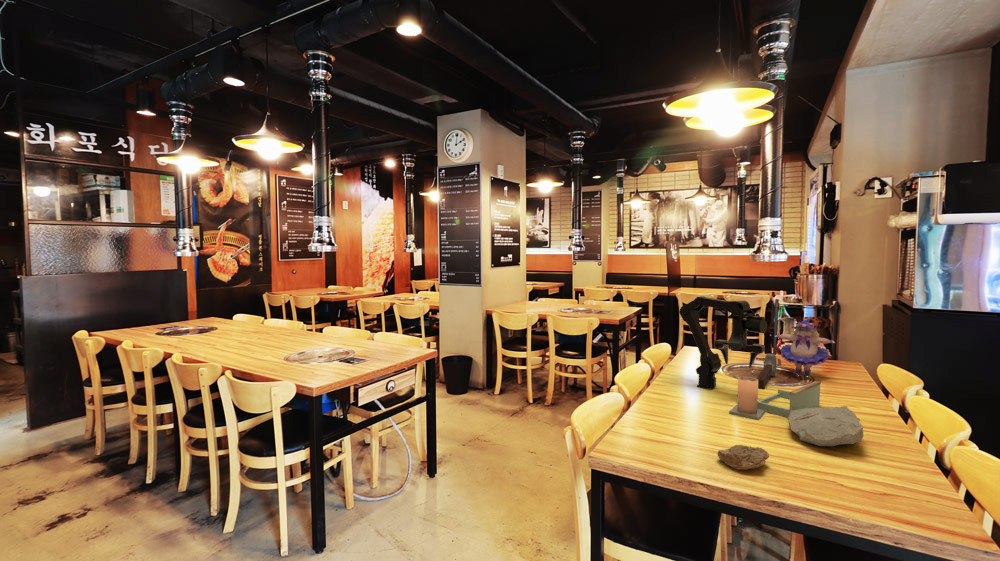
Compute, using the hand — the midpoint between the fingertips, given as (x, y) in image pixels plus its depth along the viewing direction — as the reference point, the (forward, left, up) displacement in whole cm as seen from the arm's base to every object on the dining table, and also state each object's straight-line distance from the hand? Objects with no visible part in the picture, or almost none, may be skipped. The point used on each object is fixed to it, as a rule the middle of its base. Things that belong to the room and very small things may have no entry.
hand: (738, 365), depth 198 cm
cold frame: (+19, -3, -13) cm, 23 cm away
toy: (+16, +54, -13) cm, 58 cm away
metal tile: (+9, -21, -13) cm, 27 cm away
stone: (+34, -28, -13) cm, 46 cm away
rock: (+19, -70, -13) cm, 74 cm away
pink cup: (+9, -21, -12) cm, 26 cm away
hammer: (+4, +32, -13) cm, 35 cm away
